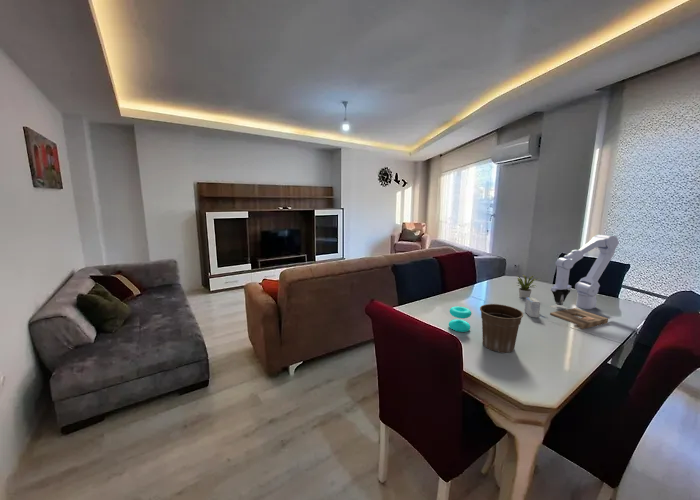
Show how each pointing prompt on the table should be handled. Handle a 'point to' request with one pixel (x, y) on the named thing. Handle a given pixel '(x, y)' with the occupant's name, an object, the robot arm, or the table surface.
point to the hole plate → (583, 323)
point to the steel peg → (561, 300)
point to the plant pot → (500, 326)
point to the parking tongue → (558, 307)
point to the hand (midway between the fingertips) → (559, 301)
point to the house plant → (525, 287)
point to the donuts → (457, 323)
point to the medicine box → (532, 307)
